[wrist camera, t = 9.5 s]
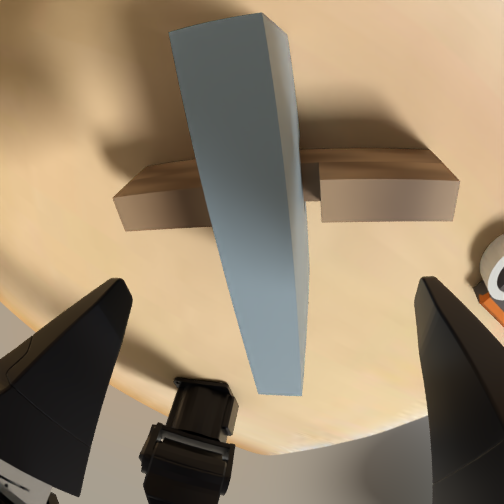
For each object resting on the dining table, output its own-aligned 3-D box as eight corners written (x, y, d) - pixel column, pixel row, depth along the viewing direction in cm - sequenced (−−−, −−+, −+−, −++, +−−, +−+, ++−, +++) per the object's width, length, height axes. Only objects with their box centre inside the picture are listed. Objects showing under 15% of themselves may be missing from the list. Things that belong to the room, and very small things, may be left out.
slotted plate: (309, 268, 20) (301, 396, 13) (278, 269, 20) (258, 394, 13) (287, 35, 12) (262, 12, 5) (245, 39, 12) (168, 32, 5)
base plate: (155, 195, 18) (125, 231, 15) (146, 166, 17) (112, 197, 14) (426, 183, 15) (452, 221, 12) (429, 149, 14) (459, 181, 11)
